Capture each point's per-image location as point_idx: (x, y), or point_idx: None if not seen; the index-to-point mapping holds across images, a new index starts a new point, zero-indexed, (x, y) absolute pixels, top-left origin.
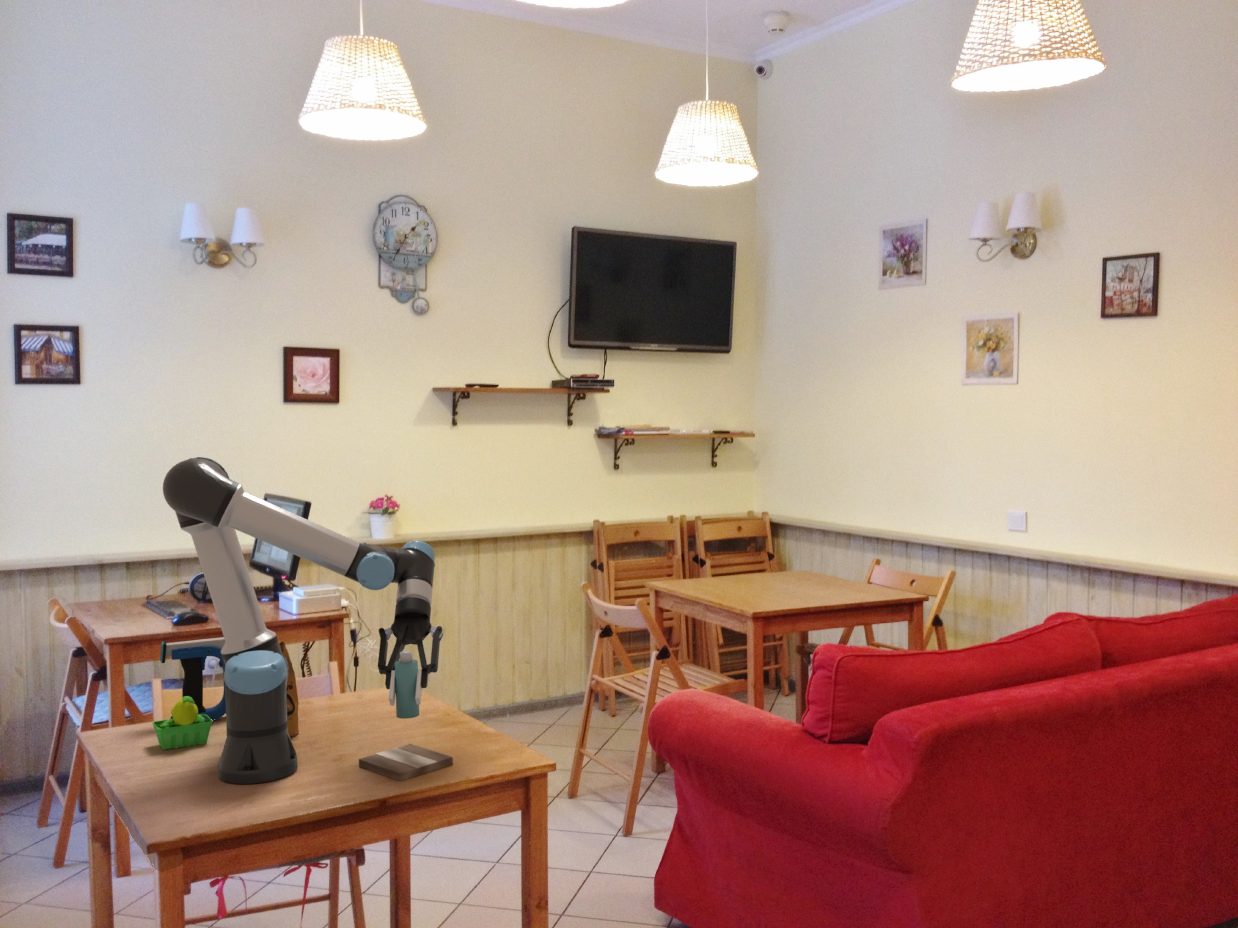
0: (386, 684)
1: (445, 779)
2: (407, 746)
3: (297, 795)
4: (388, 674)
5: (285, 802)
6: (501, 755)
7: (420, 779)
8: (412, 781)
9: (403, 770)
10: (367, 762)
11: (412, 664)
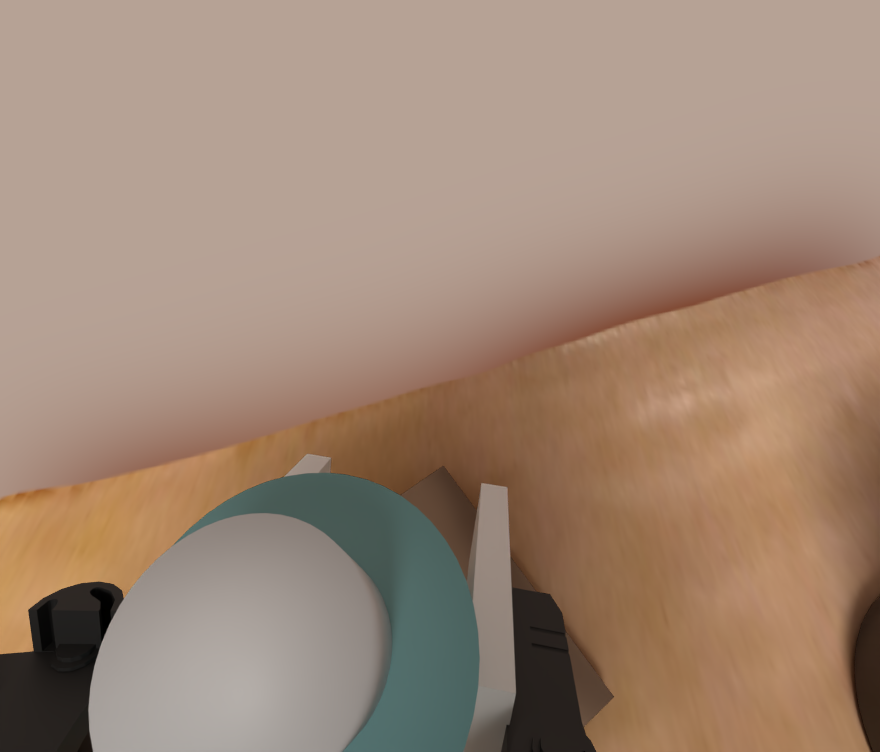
0: (546, 604)
1: (311, 453)
2: None
3: (732, 430)
4: (548, 699)
5: (745, 387)
6: None
7: (383, 472)
8: (408, 461)
9: (432, 493)
10: (569, 638)
11: (242, 494)
